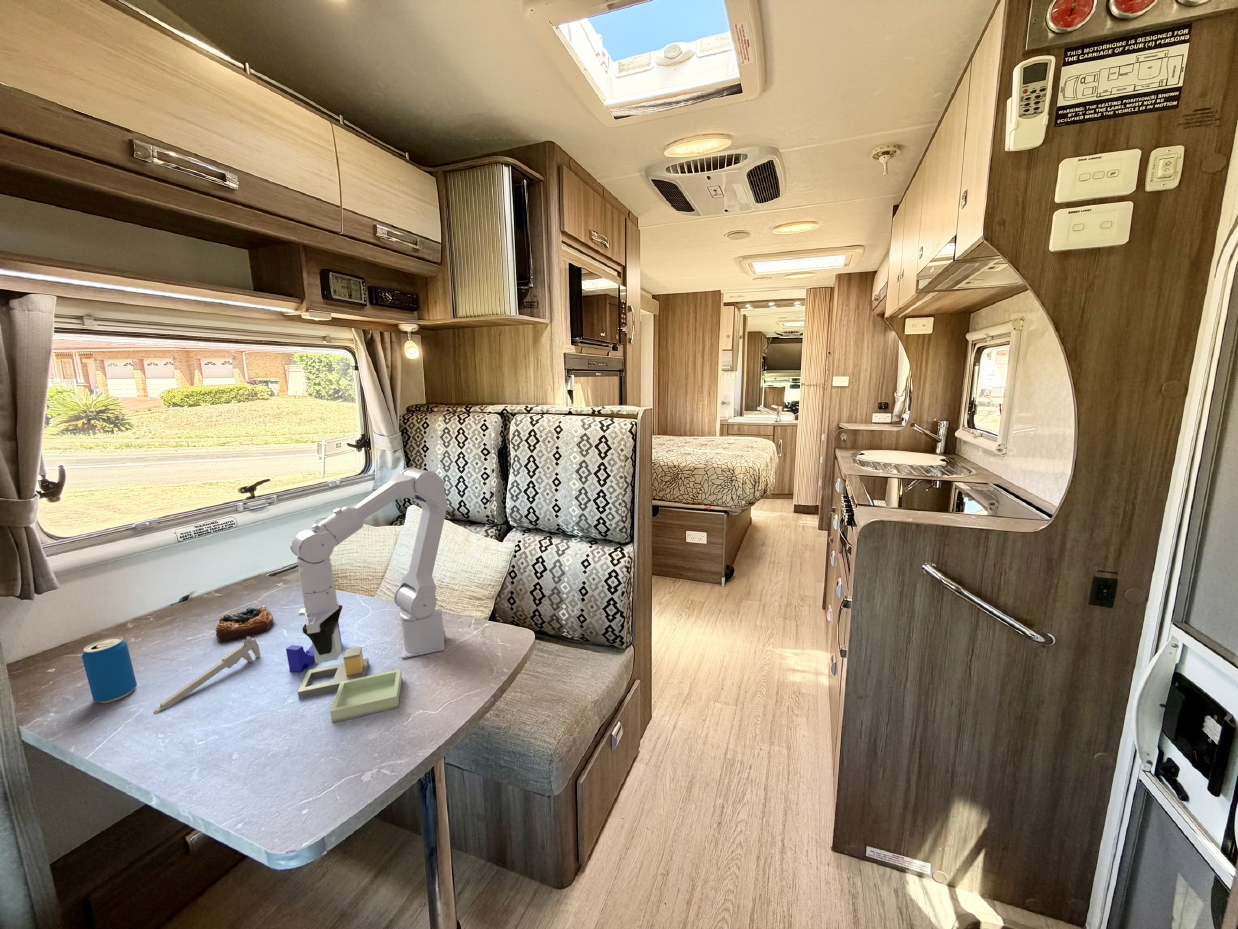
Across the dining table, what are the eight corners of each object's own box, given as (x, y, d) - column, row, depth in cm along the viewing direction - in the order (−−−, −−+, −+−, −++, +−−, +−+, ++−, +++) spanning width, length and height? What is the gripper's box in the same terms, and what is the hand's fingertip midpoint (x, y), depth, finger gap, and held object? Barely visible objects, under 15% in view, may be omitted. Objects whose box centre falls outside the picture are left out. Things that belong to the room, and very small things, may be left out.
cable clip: (326, 642, 119) (323, 621, 118) (341, 644, 118) (338, 622, 117) (284, 671, 108) (280, 648, 106) (301, 674, 107) (297, 649, 106)
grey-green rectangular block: (342, 649, 103) (337, 621, 101) (337, 659, 99) (333, 630, 98) (320, 653, 101) (315, 625, 100) (315, 664, 98) (310, 634, 96)
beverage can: (105, 690, 102) (92, 640, 100) (143, 682, 105) (132, 633, 103) (86, 709, 97) (72, 656, 94) (128, 700, 99) (115, 648, 97)
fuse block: (368, 664, 109) (365, 640, 108) (363, 684, 102) (359, 660, 101) (309, 676, 105) (305, 652, 104) (298, 698, 98) (294, 673, 97)
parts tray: (402, 679, 103) (400, 669, 103) (397, 707, 94) (396, 696, 94) (342, 692, 100) (340, 681, 99) (332, 723, 91) (330, 711, 90)
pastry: (219, 629, 128) (215, 609, 127) (274, 615, 134) (270, 596, 133) (215, 647, 119) (211, 625, 118) (273, 631, 126) (270, 611, 124)
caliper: (257, 656, 114) (253, 633, 113) (261, 657, 114) (256, 633, 113) (153, 714, 95) (147, 686, 94) (157, 715, 95) (150, 687, 94)
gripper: (306, 577, 103) (315, 634, 105) (284, 606, 89) (295, 671, 92) (342, 571, 105) (351, 627, 107) (326, 600, 91) (336, 663, 94)
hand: (328, 647), depth 100 cm, fingers closed on grey-green rectangular block, 4 cm apart
